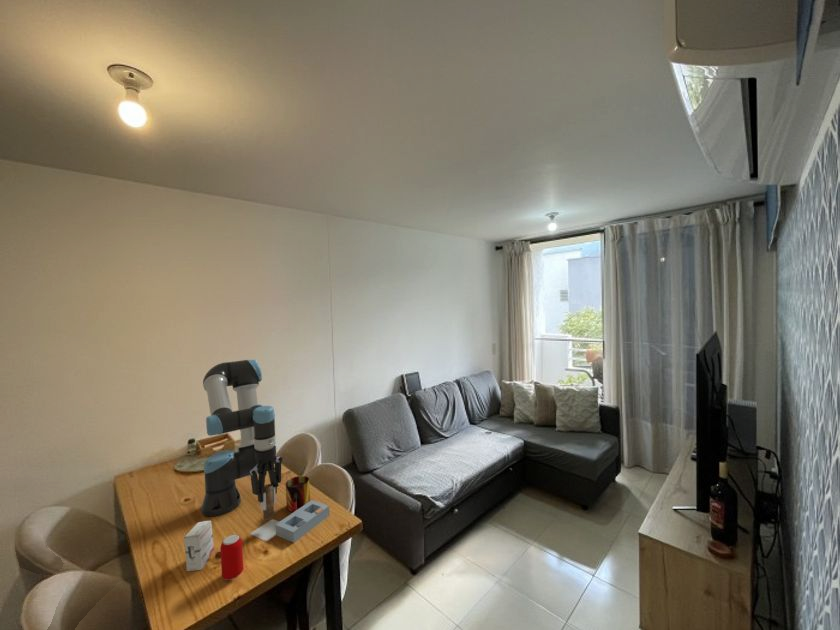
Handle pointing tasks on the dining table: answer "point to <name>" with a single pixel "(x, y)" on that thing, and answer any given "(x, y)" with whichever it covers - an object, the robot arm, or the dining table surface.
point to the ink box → (198, 545)
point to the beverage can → (231, 557)
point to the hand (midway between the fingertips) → (268, 505)
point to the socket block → (302, 521)
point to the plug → (269, 502)
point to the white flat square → (266, 530)
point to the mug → (297, 493)
